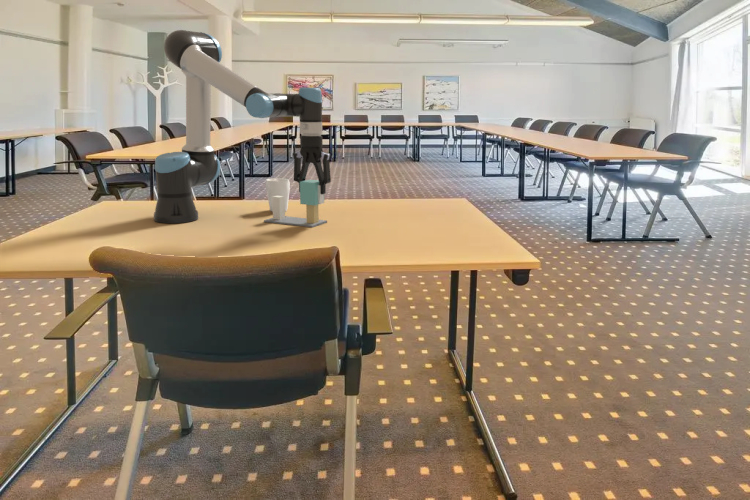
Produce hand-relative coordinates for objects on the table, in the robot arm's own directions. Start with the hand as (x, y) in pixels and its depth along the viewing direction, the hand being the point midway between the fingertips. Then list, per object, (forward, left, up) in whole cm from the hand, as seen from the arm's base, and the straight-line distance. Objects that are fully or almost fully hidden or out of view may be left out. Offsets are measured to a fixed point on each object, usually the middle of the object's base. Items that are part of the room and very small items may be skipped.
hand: (312, 202), depth 218 cm
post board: (-7, 0, -7) cm, 10 cm away
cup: (-25, +16, -8) cm, 31 cm away
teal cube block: (0, 0, 0) cm, 0 cm away
